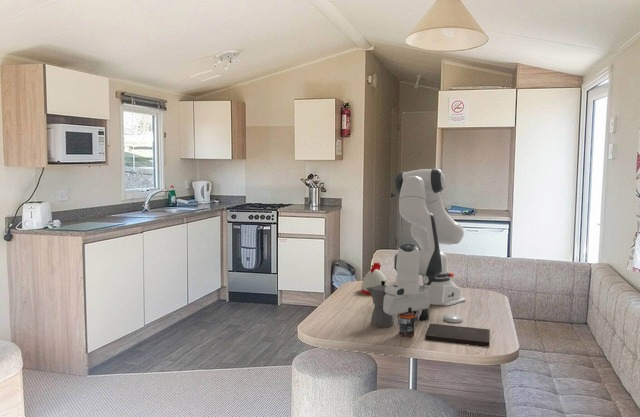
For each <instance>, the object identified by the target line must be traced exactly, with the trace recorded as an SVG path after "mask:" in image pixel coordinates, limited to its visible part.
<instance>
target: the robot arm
mask: <svg viewBox="0 0 640 417" xmlns="http://www.w3.org/2000/svg"><path fill="white" fill-rule="evenodd" d="M393 185H394V189H395V191H396V193H397V194H398V195H399V201H398V212H399V214H400V216H401V218H403V220H405V221H406V222H408V223H409V224H411V226H410V235H411V237H412V238H413V240H415V242H416V243H417V244H418V245H419V247H420V249H421V250H419V247H418V246H417V245H416V244H412V243H404V244H401V245H399V246H398V249H397V253H396V254H395V255H394V258H393V260H394V264H393V266H394V267H393V268H394V270H395V271H396V277H395V281H394V282H392V283H391V284H388V286H387V287H385V292H386V293H387V294H385V296H384V301H383V311H384V312H385V313H386V314H388V315H391V316H392V317H393V323H394V324H393V325H395V326H399V324H400V320H399V318H398V317H399V313H405V312H408V308H409V307H412V310H411V311H416V314H415V322H416V323H417V322H420V321H419V317H420V315H421V313H422V310H423V309H428V308H429V309H430V305H436V306H447V307H448V306H452V305H455V304H459V303H463V302H466V298H465V297H463V296H461V289H460V287H459V286H458V285H457V284H455V283H454V282H453V281H452V280H451V278H454V277H455V274H454V273H453V272H448V263H449V262H448V260H449V259H448V256H447V254H446V253H445V252H444V251H442V250H441V249H440V245H448V246H449V245H458V244H460V242H462V241H463V238H464V228H463V226H462V224H460V223H459V222H457V221H455V220H454V219H453V218H452V217H451V216H450V214H449V213H448V212H447V210H446V209H445V208H446V207H445V206H444V202H443V199H442V194H441V192H442V191H443V190H444V189H445V186H446V177H445V174H444V171H442V170H441V169H439V168H424V169H423V168H420V169H415V170H410V171H402V172H399V173H397V175H396V176H395V177H394V184H393ZM420 276H421V277H422V278H421V279H422V285H420ZM415 322H414V323H415Z"/></svg>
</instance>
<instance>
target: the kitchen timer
mask: <svg viewBox="0 0 640 417" xmlns="http://www.w3.org/2000/svg"><path fill="white" fill-rule="evenodd" d="M381 267H382V265H381V264H380V262H374V263H373V265H371V268H370V270H369V271H368V272H367V273H366V275H364V277H363V278H362V284H361V291H362V292H361V293H362V294H364V293H365V295H370V296H371V294H370V292H369V291H368V290H367V288H369V287H374V286H378V285H382V284H381V281H385V285H386V286H389V280H388V279H387V277H386V276H385V274H384V273H383V272H382V271H381Z"/></svg>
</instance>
